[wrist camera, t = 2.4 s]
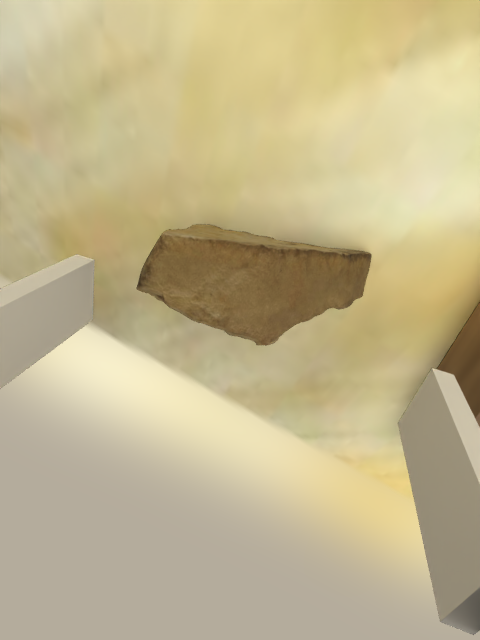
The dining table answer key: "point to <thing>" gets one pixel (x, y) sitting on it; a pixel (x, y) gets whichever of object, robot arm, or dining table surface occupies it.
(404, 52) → the dining table surface
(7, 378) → the robot arm
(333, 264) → the rock
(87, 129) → the dining table surface
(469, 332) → the walnut block
